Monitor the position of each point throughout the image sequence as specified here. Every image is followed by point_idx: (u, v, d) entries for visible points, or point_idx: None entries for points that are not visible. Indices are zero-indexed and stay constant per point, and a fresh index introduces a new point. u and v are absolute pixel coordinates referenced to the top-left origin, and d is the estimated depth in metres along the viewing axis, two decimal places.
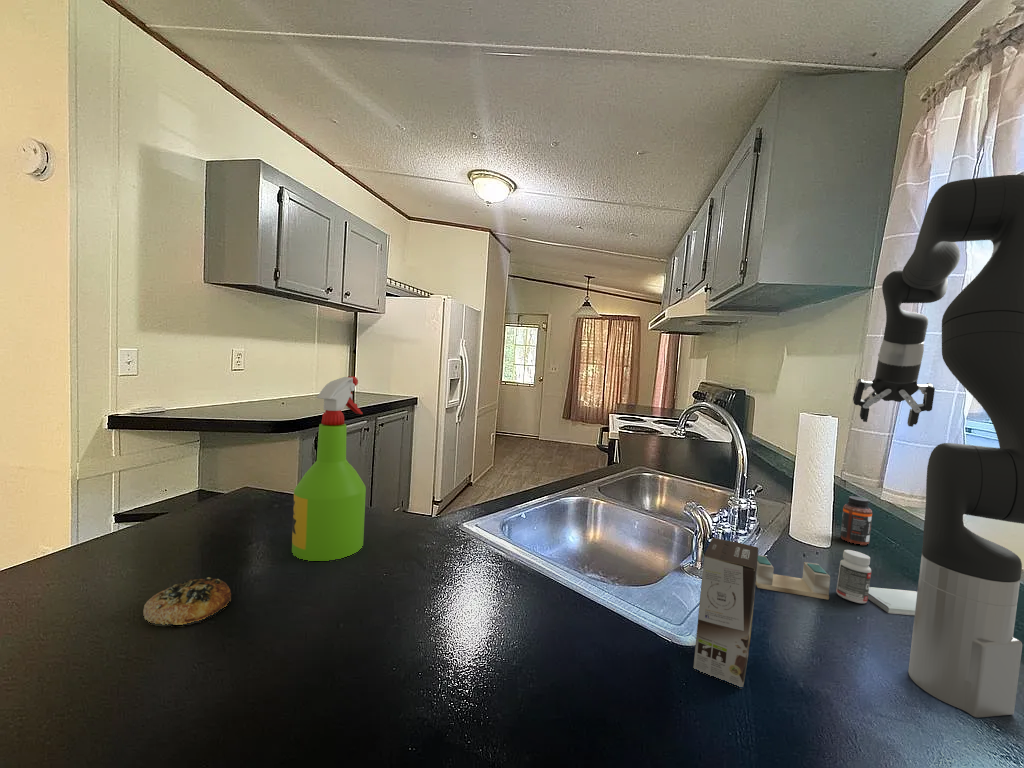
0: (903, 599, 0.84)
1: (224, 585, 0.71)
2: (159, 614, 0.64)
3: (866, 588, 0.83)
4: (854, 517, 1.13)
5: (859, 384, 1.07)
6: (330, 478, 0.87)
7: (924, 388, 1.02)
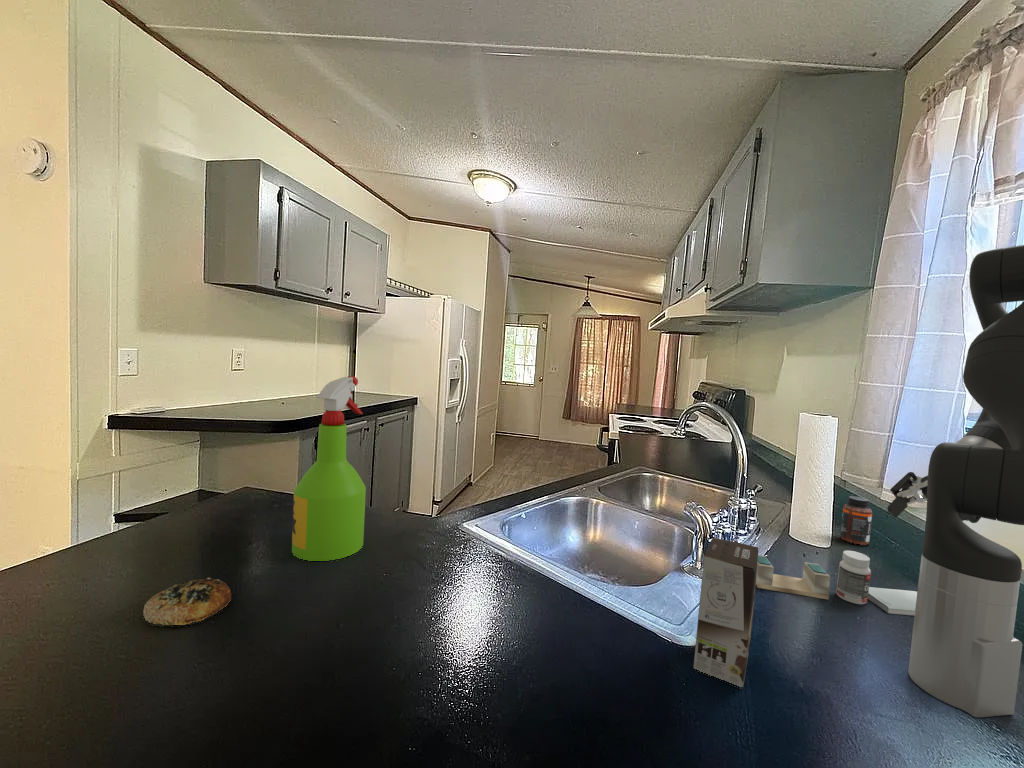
0: (903, 599, 0.84)
1: (224, 585, 0.71)
2: (159, 614, 0.63)
3: (865, 589, 0.82)
4: (854, 517, 1.13)
5: (908, 473, 0.93)
6: (330, 478, 0.87)
7: None
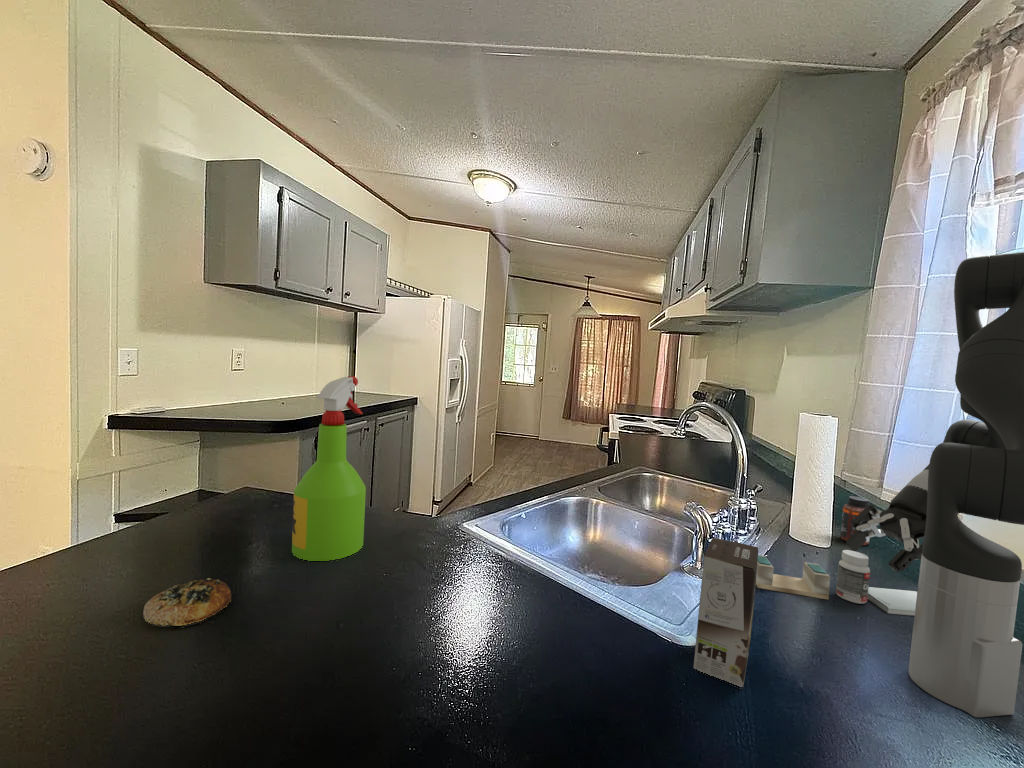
0: (903, 599, 0.84)
1: (224, 586, 0.71)
2: (159, 615, 0.63)
3: (864, 588, 0.82)
4: (854, 517, 1.13)
5: (868, 506, 0.92)
6: (330, 478, 0.87)
7: None
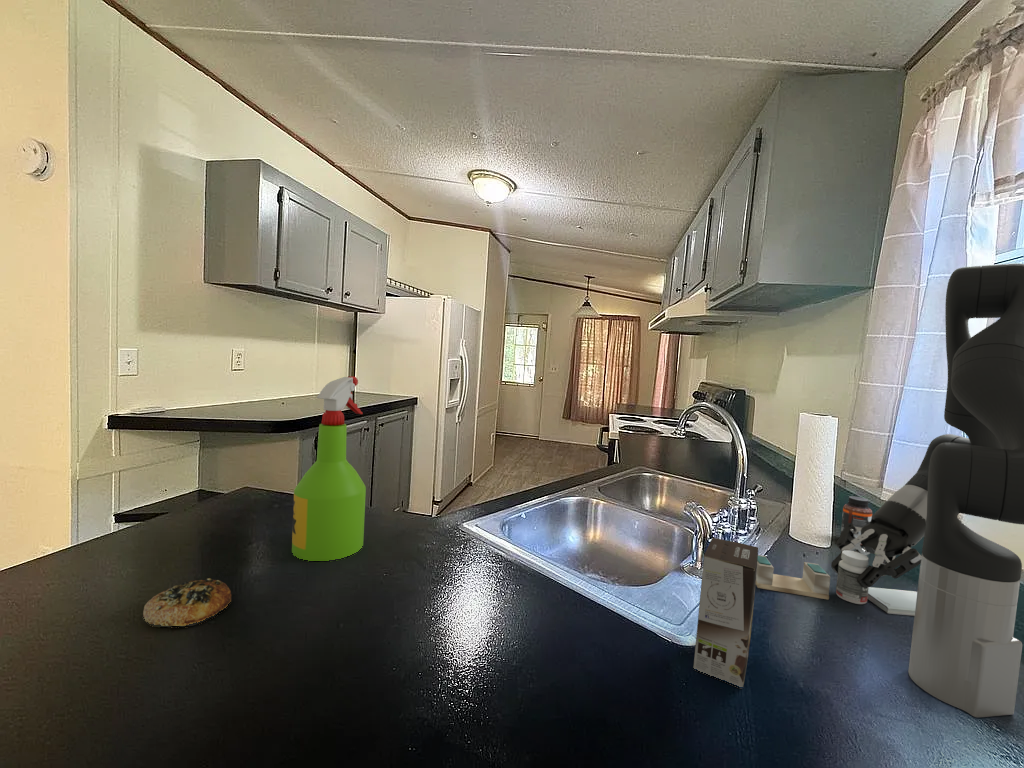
0: (903, 599, 0.84)
1: (224, 586, 0.71)
2: (159, 615, 0.63)
3: (863, 589, 0.82)
4: (854, 517, 1.13)
5: (847, 524, 0.91)
6: (330, 478, 0.87)
7: None
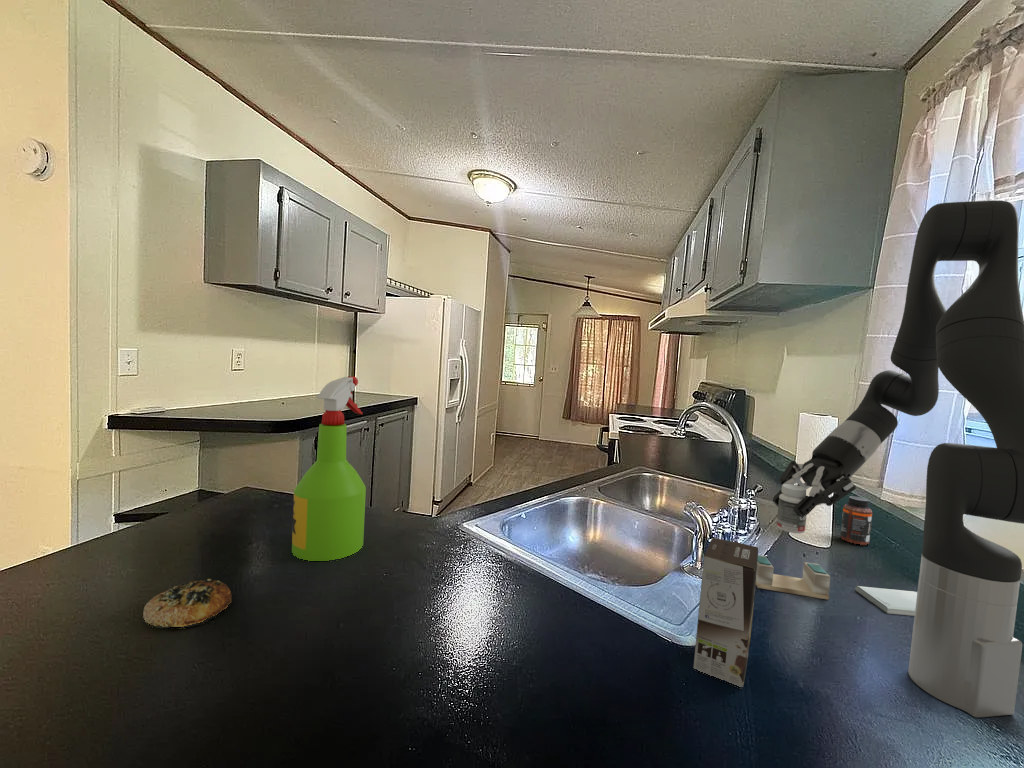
0: (903, 599, 0.83)
1: (224, 587, 0.70)
2: (159, 616, 0.63)
3: (800, 519, 0.85)
4: (854, 517, 1.13)
5: (790, 462, 0.94)
6: (330, 478, 0.87)
7: None
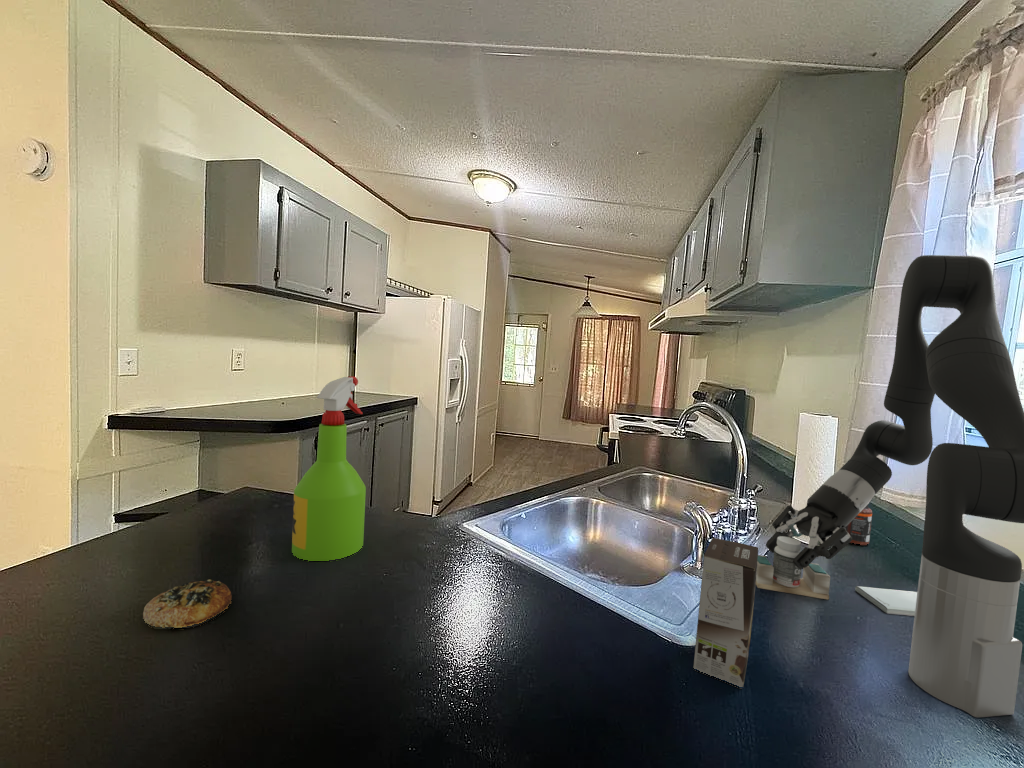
0: (903, 599, 0.83)
1: (225, 587, 0.70)
2: (159, 617, 0.63)
3: (795, 573, 0.86)
4: None
5: (787, 507, 0.95)
6: (330, 478, 0.87)
7: None
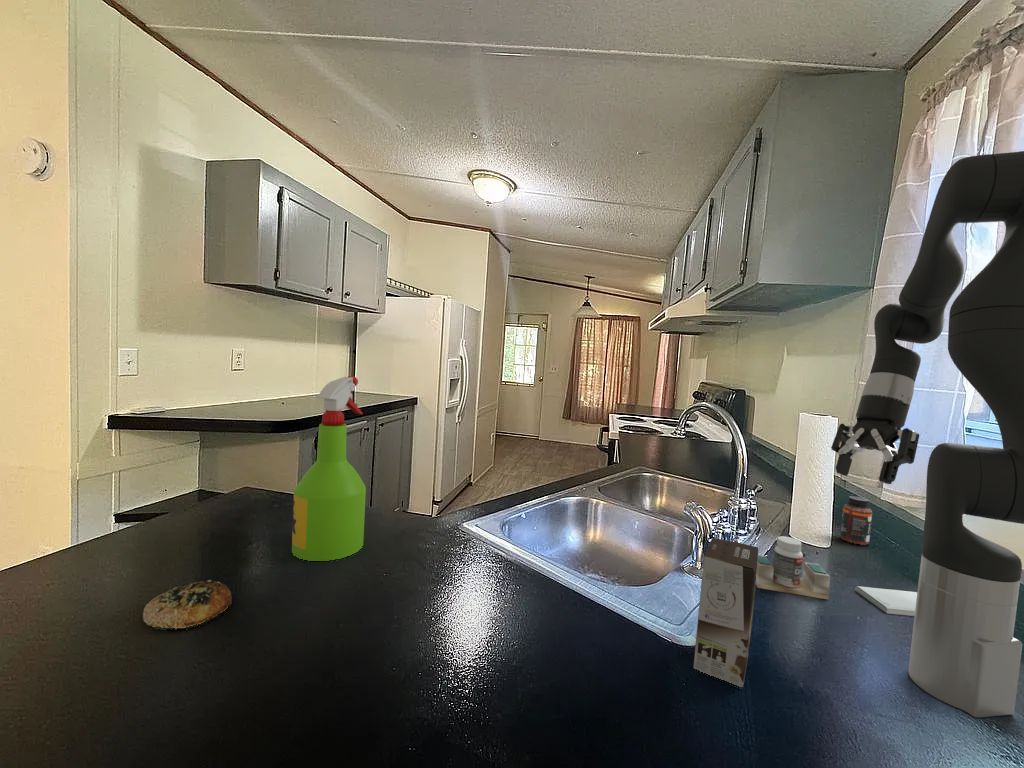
0: (902, 599, 0.83)
1: (225, 588, 0.70)
2: (159, 617, 0.63)
3: (795, 573, 0.86)
4: (854, 517, 1.13)
5: (840, 425, 0.94)
6: (330, 478, 0.87)
7: None
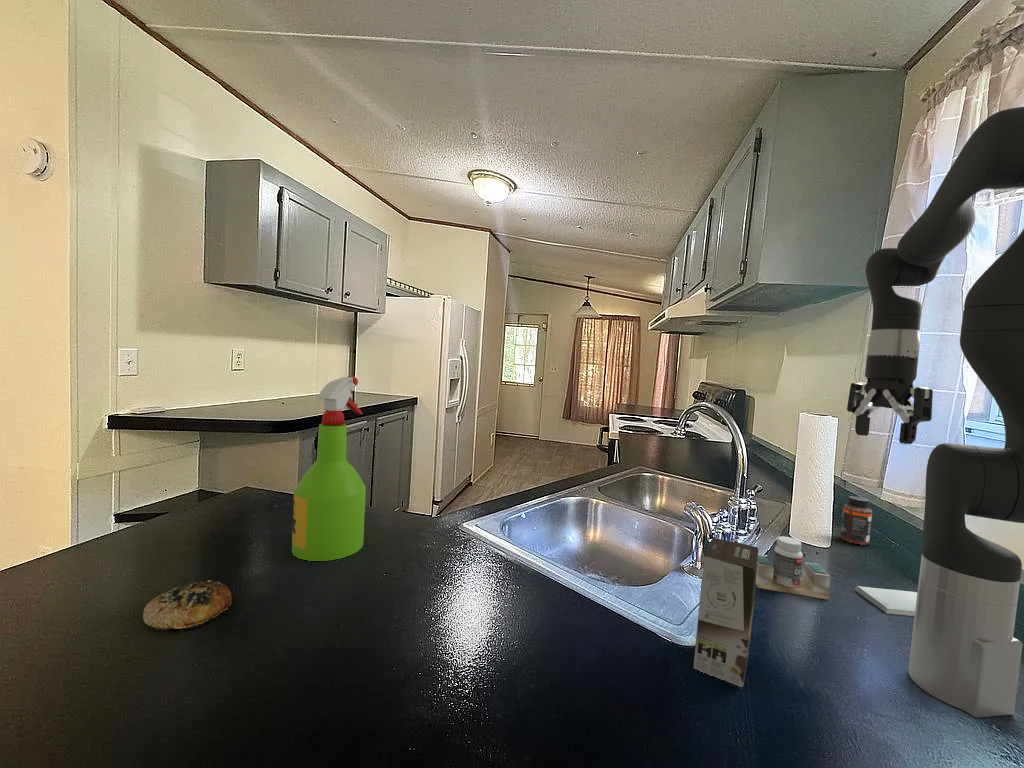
0: (902, 599, 0.83)
1: (225, 588, 0.70)
2: (159, 617, 0.63)
3: (795, 573, 0.86)
4: (854, 517, 1.13)
5: (851, 385, 0.92)
6: (330, 478, 0.87)
7: None
